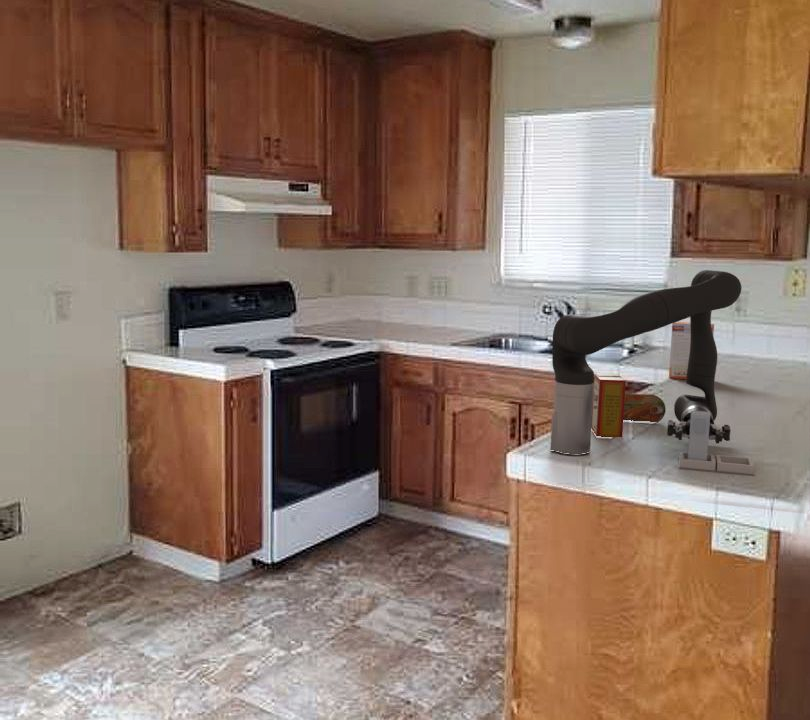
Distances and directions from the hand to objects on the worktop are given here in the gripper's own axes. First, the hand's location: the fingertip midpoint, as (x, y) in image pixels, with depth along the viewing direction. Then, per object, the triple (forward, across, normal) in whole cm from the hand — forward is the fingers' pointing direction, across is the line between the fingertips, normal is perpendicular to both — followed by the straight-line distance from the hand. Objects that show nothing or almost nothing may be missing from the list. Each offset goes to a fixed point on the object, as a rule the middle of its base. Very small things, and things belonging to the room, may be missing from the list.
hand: (699, 437), depth 195 cm
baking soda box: (-29, -22, +8) cm, 37 cm away
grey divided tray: (-2, +4, +8) cm, 9 cm away
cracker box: (-133, +1, +8) cm, 133 cm away
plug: (-2, 0, +7) cm, 7 cm away
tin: (-48, -15, +8) cm, 51 cm away
